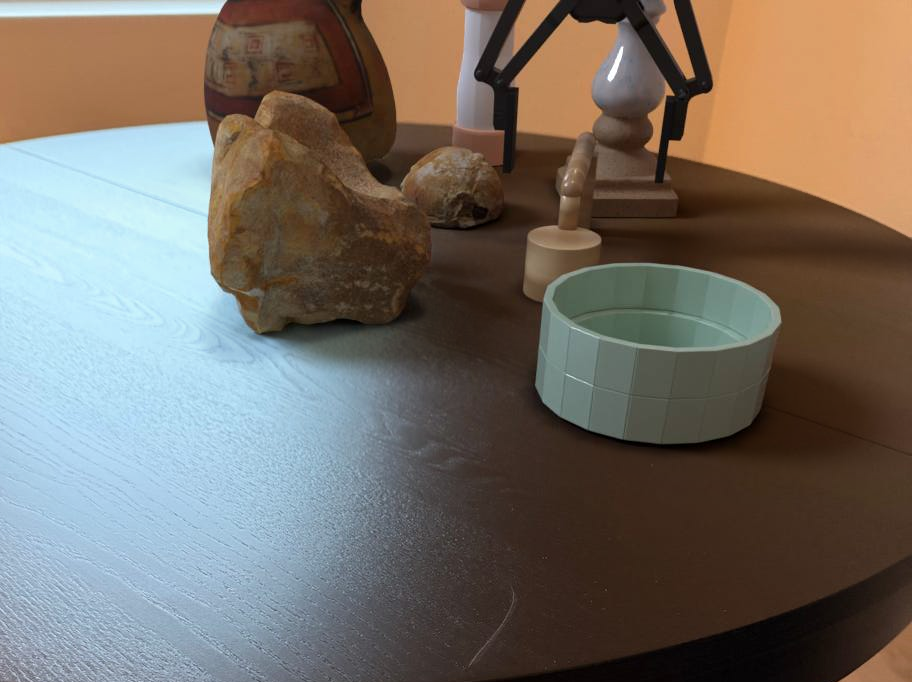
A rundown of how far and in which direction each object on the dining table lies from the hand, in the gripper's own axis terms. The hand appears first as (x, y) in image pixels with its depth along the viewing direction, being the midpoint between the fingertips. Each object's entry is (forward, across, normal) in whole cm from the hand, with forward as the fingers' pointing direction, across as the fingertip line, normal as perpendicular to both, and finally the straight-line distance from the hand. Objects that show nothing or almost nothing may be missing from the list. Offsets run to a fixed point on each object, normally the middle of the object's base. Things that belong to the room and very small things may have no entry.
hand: (582, 174), depth 93 cm
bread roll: (+6, +13, -6) cm, 16 cm away
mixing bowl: (+6, -8, +32) cm, 34 cm away
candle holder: (+6, -3, -15) cm, 17 cm away
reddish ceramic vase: (+6, +31, -16) cm, 36 cm away
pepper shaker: (+6, +13, -28) cm, 32 cm away
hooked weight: (+6, 0, +6) cm, 9 cm away
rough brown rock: (+6, +18, +21) cm, 29 cm away
